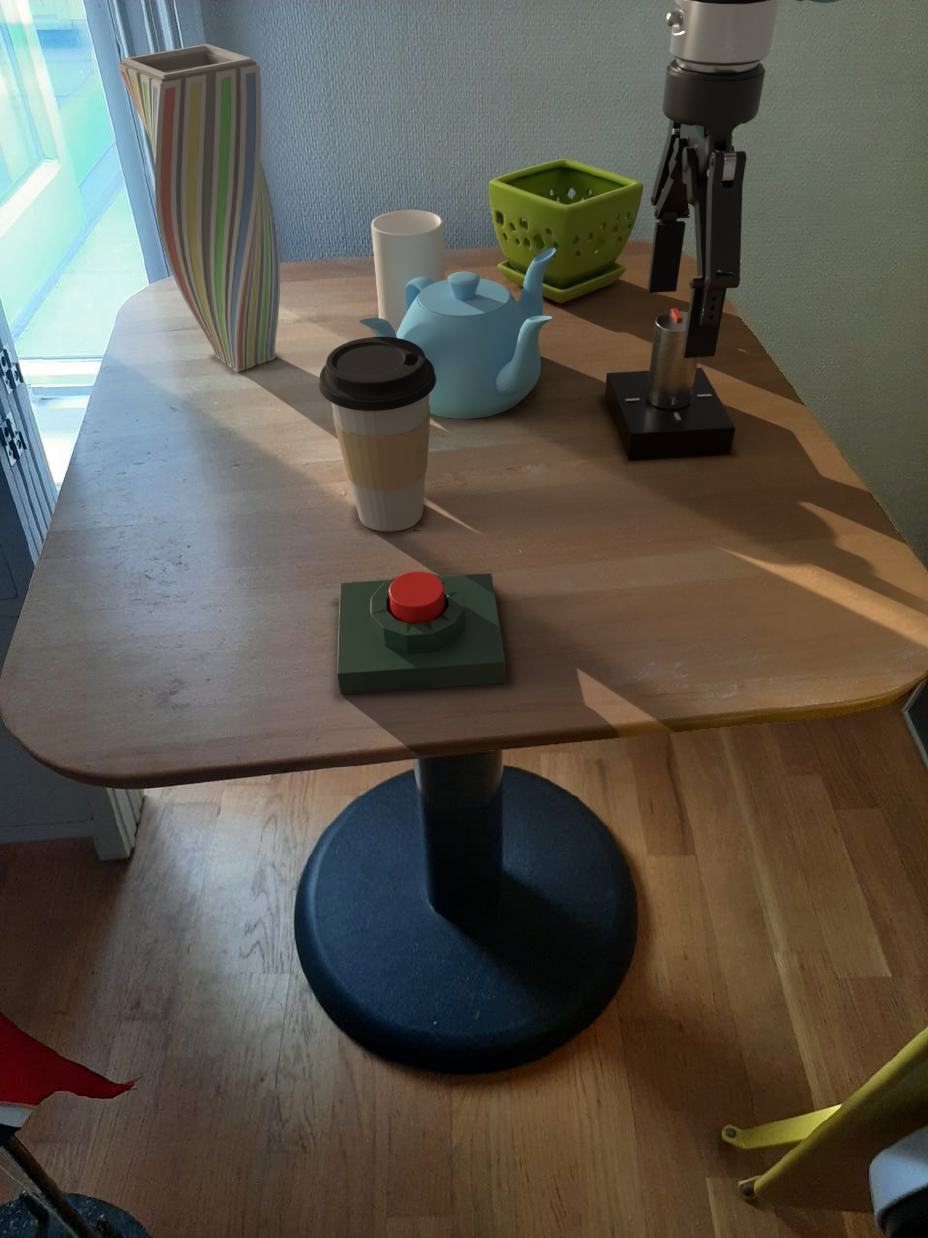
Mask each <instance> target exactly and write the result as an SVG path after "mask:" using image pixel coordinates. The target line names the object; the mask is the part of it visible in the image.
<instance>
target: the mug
mask: <svg viewBox="0 0 928 1238" xmlns="http://www.w3.org/2000/svg"><path fill="white" fill-rule="evenodd" d="M371 236H372V248H373V249H372V250H373V260H374V271H375V282H376V293H377V294H376V295H377V305H378V318H381V319H384V320H386V321H388V322H389V323H390V324H391V326H392V327H393V329H394V331H395V333H396V334H397V332H398V329H399V327H400V325H401V323H402V321H403V319H404V317H405V315H406V313H407V308H406V302H405V288H406V285H407V284H408V282H409V281H411V280H412V279H414V278H417V277H427V278H429V279H431V280H432V281H433V282H434V283H436V282H439V281H442V280H446V267H445V244H444V243H445V241H444V221H443V218H442V217H441V216H440V215H439V214H436V213H434V212H430V211H428V210H427V211H426V210H419V209H403V210H395V211H390V212H387V213H383V214H381V215H378V216H376V217H375V218H374V219H373V220H372V221H371Z"/></svg>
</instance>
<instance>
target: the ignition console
mask: <svg viewBox="0 0 928 1238" xmlns="http://www.w3.org/2000/svg"><path fill="white" fill-rule="evenodd" d="M426 573H428V572H426ZM429 573H430V574H432V575H435V576H436V577H437V578H439V579H440V580H441V582H442V584H443V587H444V603H445V606H444V610H443V612H442V613H441V615H440V616H439V617H438V618H436V619H435V620H432V621H430V622H428V623H418V624H408V623H405V622H402V621H400V620H398V619H397V618H396V617H395V616H394V615H393V613H392V612H391V607H390V597H389V588H390V585H391V583H392V582H393V581H394V580H395V579H396V578H397V577H399V576H401V575H403V574H404V573H402V574H400V575H398V576H395V577H393V578H391V579H383V580H382V579H380V580H367V581H352V582H340V583H339V606H338V607H339V608H338V637H337V639H338V640H337V671H336V672H337V673H336V675H337V680H338V681H337V682H338V687H339V692H340V693H339V694H340V695H341V696H342V695H353V694H355V695H356V694H370V693H381V692H395V691H409V690H410V691H411V690H425V689H439V688H452V687H453V688H454V687H464V686H481V685H493V684H494V685H495V684H505V683H506V657H505V650H504V645H503V638H502V631H501V625H500V619H499V612H498V606H497V601H496V594H495V588H494V580H493V575H492V574H493V573H491V572H487V573H473V574H456V575H438V574H435V573H431V572H429Z"/></svg>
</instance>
